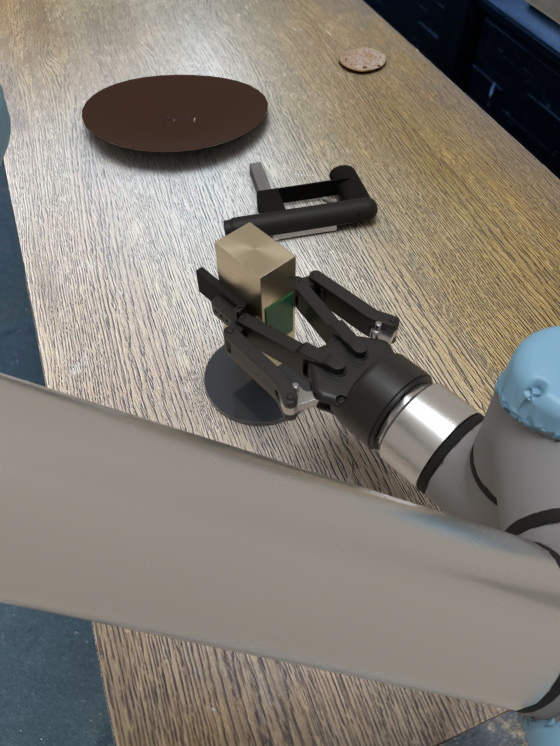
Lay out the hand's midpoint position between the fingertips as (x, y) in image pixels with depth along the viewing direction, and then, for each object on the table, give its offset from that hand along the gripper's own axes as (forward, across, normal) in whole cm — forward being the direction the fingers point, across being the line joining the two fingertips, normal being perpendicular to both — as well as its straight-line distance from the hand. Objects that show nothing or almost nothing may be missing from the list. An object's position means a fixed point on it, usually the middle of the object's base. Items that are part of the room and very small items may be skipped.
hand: (220, 267), depth 62 cm
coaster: (-5, 0, -12) cm, 13 cm away
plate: (+41, +24, -12) cm, 49 cm away
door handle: (+14, +22, -12) cm, 29 cm away
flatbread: (+34, +58, -12) cm, 68 cm away
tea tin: (-5, 0, -7) cm, 9 cm away
